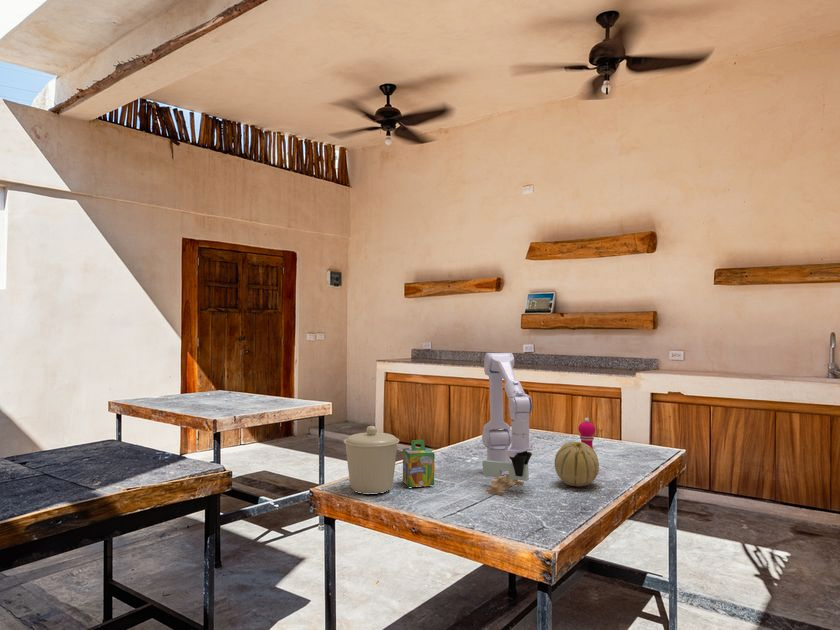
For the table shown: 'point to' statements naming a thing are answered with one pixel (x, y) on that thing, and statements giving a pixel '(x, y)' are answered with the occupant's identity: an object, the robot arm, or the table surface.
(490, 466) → the pale gray-green board
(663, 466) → the table surface
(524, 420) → the robot arm
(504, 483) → the wooden rack
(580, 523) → the table surface
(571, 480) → the cantaloupe
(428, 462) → the chalk box
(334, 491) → the table surface
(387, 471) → the canister
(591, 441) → the pepper mill
